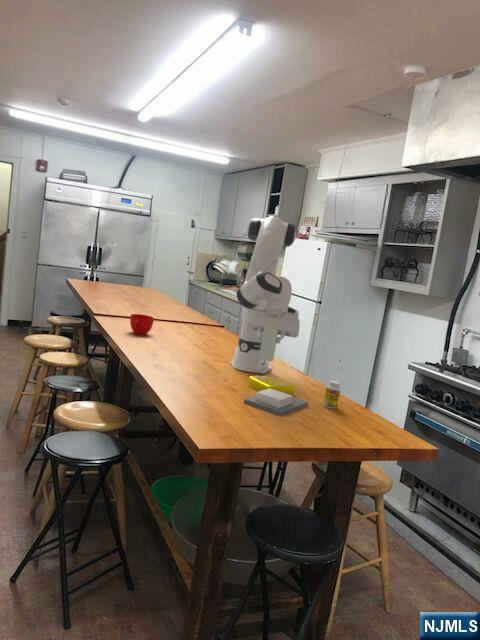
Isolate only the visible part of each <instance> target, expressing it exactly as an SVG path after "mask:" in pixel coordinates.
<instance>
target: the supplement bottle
mask: <svg viewBox="0 0 480 640" xmlns="http://www.w3.org/2000/svg"><path fill="white" fill-rule="evenodd" d="M340 394H341V388H340V382H338V381H336V380H330V381H329V383H328V385H327V386H326V388H325V393H324V397H323V402H322V405H323V406H324V407H325V408H327V409H337V408H338V404H339V399H340Z"/></svg>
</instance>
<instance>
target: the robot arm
mask: <svg viewBox="0 0 480 640" xmlns="http://www.w3.org/2000/svg"><path fill="white" fill-rule="evenodd" d="M246 233H247V237H248V239H249V240H250V241H253V242H255V245H254V249H253V253H252V255H251V259H250V261H249V263H248V266H247V269H246V273H245V276H244V279H243V282H242V284H241V285H240V286H239V287H238V288H237V290H236V298H237V301H238V303H239V305H241V306H242V324H241V330H240V335H239V338H238V342H237V345H238V346H237V347H235V350H234V354H233V356H232V357H233V358H232V360H231V361H230V362H229V364H230V365H231V366H232V368H234V369H236V370H240V371H243V372H249V373H257V374H265V373H267V372H269V371H271V370H273V367H272V366H270V365H269V361H265V360H260V359H259V355H260V349H261V343H262V336H263V330H264V327H265V326H268V327H274V328H279V329H278V335H279V336H278V335H277V339H276V344H281V341H282V340H283V339H284V338H285V337H287V338H289V337H290V338H294V339H295V338H298V337H299V335H300V334H299V333H300V325H301V324H300V323H301V321H300V318H299V315H300V314H299V310H298V309H295V308H293V307H291V306H289V305H290V302H291V300H292V294H293V293H292V291H293V289H292V287H293V286H292V284H291V281H290V280H289V279H288V278H286V277H285V276H276V274H277V267H278V263H279V256H280V253H281V251H282V249H283V250H284V249H285V248H288V247H290V246H293V243H294V242H295V241H296V238H297V229H296V226H295V225H294V224H292V223H291V222H290V223H289V222H285V221H283V220H282V218H280V217H277V216H273V215H271V216H268V217H266V218H260V217H254V218H251V219H250V221H249V223H248V224H247V227H246Z"/></svg>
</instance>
